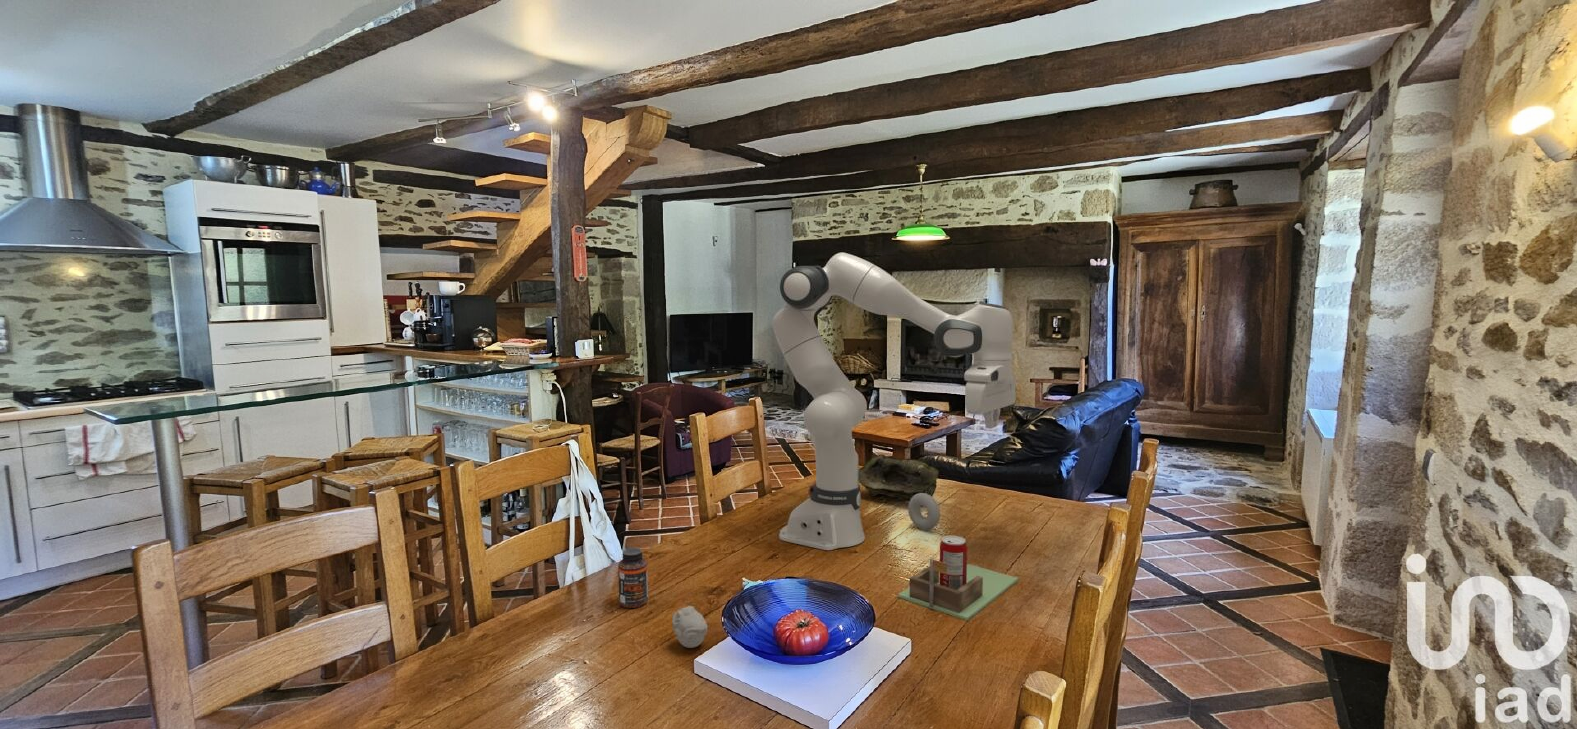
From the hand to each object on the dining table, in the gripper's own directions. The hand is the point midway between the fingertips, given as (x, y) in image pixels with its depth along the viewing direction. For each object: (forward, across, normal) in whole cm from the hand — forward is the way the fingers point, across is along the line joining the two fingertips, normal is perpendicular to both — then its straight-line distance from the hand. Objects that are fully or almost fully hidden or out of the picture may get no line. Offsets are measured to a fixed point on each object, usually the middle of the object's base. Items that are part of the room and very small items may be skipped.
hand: (991, 427), depth 163 cm
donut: (+31, -3, -20) cm, 37 cm away
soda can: (+31, +28, +5) cm, 42 cm away
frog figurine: (+31, +77, -22) cm, 86 cm away
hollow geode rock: (+31, -20, -39) cm, 54 cm away
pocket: (+30, +31, +4) cm, 44 cm away
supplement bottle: (+31, +74, -45) cm, 92 cm away
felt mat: (+31, +24, +4) cm, 39 cm away
